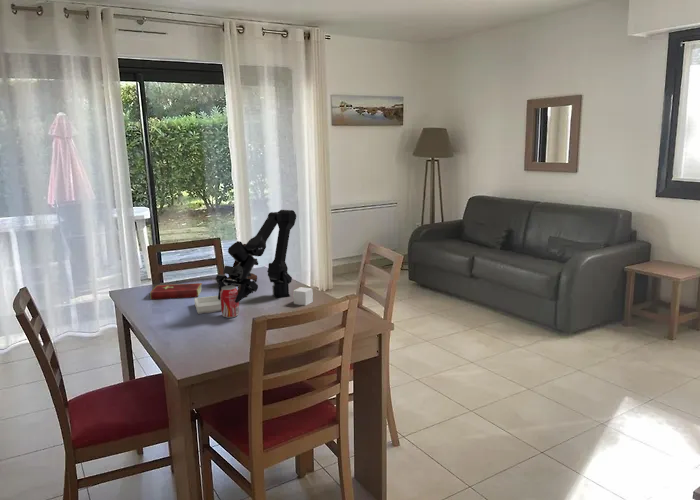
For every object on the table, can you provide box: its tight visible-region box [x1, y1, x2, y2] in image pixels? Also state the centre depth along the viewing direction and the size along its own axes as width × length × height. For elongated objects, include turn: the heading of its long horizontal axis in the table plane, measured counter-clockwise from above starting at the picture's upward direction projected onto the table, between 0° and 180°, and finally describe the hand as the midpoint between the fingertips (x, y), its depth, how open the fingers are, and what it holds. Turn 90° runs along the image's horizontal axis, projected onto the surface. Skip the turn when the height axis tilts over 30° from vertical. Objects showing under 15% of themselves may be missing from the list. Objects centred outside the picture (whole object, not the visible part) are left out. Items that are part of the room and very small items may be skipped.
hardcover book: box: [149, 282, 203, 300], centre depth 247 cm, size 12×21×4 cm, turn 96°
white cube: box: [292, 286, 314, 306], centre depth 230 cm, size 6×6×6 cm
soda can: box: [220, 284, 240, 319], centre depth 214 cm, size 7×7×12 cm
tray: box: [193, 294, 221, 315], centre depth 227 cm, size 16×14×3 cm
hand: (227, 300), depth 213 cm, fingers open, 9 cm apart
